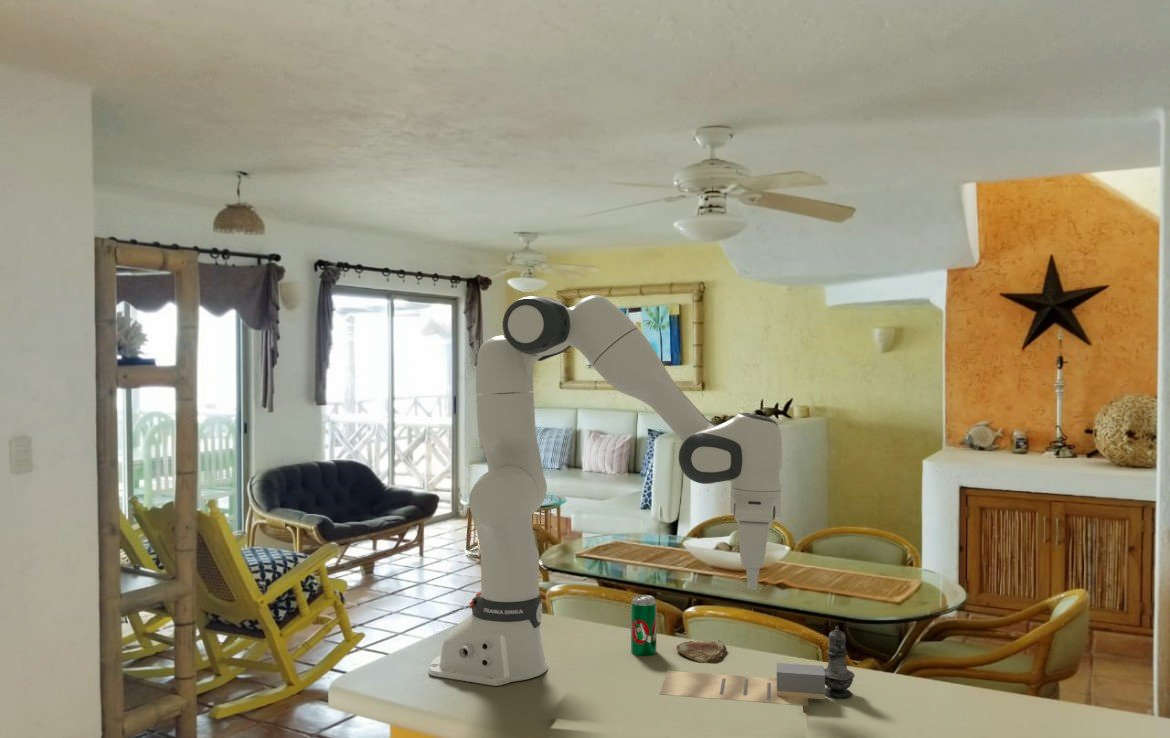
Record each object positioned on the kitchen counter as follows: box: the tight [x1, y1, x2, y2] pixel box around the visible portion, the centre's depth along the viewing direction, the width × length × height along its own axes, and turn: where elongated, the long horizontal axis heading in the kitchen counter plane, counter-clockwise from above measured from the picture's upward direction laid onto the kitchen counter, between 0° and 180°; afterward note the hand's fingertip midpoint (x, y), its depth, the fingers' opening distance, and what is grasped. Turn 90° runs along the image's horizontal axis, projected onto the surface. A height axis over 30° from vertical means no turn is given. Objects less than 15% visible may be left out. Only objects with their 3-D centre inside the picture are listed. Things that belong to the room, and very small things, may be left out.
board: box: [659, 670, 810, 714], centre depth 152 cm, size 25×12×1 cm, turn 78°
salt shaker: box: [824, 625, 856, 700], centre depth 152 cm, size 6×6×12 cm
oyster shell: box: [676, 639, 727, 664], centre depth 172 cm, size 13×10×3 cm
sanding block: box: [776, 662, 826, 700], centre depth 150 cm, size 8×5×4 cm, turn 78°
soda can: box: [630, 594, 657, 657], centre depth 172 cm, size 5×5×12 cm
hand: (753, 582), depth 154 cm, fingers open, 8 cm apart
